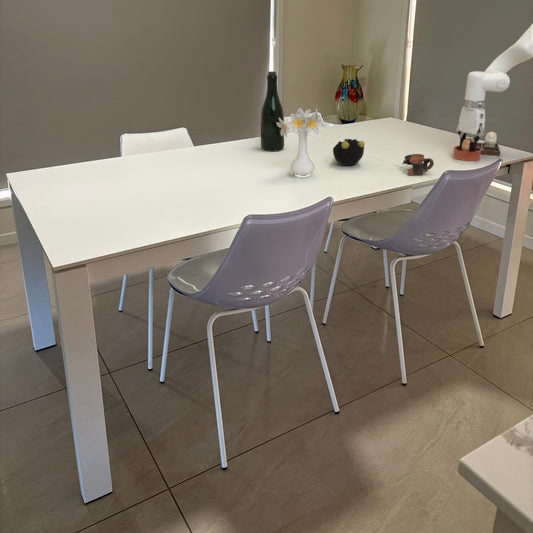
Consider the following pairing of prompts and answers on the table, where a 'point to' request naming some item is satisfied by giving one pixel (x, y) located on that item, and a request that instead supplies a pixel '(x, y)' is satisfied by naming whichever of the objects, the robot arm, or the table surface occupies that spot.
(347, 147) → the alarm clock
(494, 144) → the egg
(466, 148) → the egg
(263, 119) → the wine bottle
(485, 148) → the egg holder
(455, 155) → the bowl
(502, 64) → the robot arm
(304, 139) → the flower vase
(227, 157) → the table surface
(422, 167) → the pottery mug
